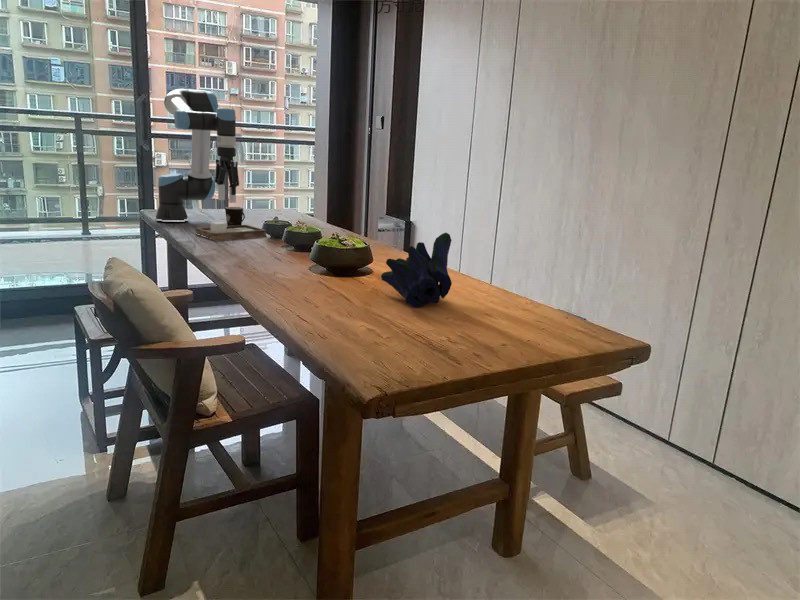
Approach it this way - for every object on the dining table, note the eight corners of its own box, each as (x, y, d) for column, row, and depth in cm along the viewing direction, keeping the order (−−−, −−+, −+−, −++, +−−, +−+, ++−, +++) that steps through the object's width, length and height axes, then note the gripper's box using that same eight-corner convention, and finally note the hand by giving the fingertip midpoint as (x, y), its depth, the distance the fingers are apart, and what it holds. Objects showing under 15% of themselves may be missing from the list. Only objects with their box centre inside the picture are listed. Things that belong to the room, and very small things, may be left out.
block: (210, 233, 274) (210, 222, 273) (221, 232, 278) (220, 221, 276) (216, 235, 271) (216, 224, 269) (226, 234, 274) (226, 223, 273)
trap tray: (195, 234, 280) (195, 228, 279) (246, 230, 298) (246, 224, 298) (214, 240, 269) (214, 234, 268) (266, 236, 287) (266, 230, 286)
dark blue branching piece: (400, 335, 189) (386, 286, 215) (480, 307, 189) (457, 261, 214) (378, 281, 178) (366, 236, 203) (464, 250, 177) (441, 209, 203)
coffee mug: (223, 227, 305) (223, 206, 302) (241, 227, 308) (241, 206, 306) (228, 231, 295) (227, 210, 292) (246, 230, 298) (246, 210, 296)
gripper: (205, 144, 264) (206, 198, 270) (231, 148, 250) (232, 204, 256) (221, 145, 269) (222, 198, 275) (248, 148, 255) (248, 204, 261)
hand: (226, 201), depth 265 cm, fingers open, 8 cm apart
